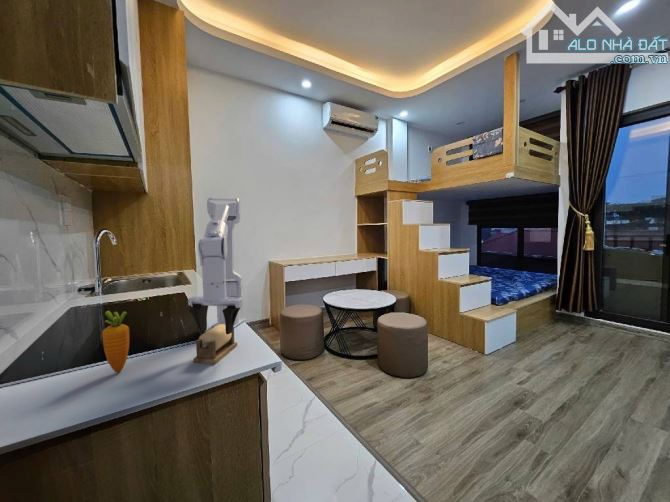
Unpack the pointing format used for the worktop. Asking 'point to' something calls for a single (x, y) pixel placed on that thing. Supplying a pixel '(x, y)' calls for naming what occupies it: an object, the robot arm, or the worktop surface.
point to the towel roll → (215, 336)
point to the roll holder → (213, 351)
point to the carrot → (116, 341)
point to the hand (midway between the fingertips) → (216, 332)
